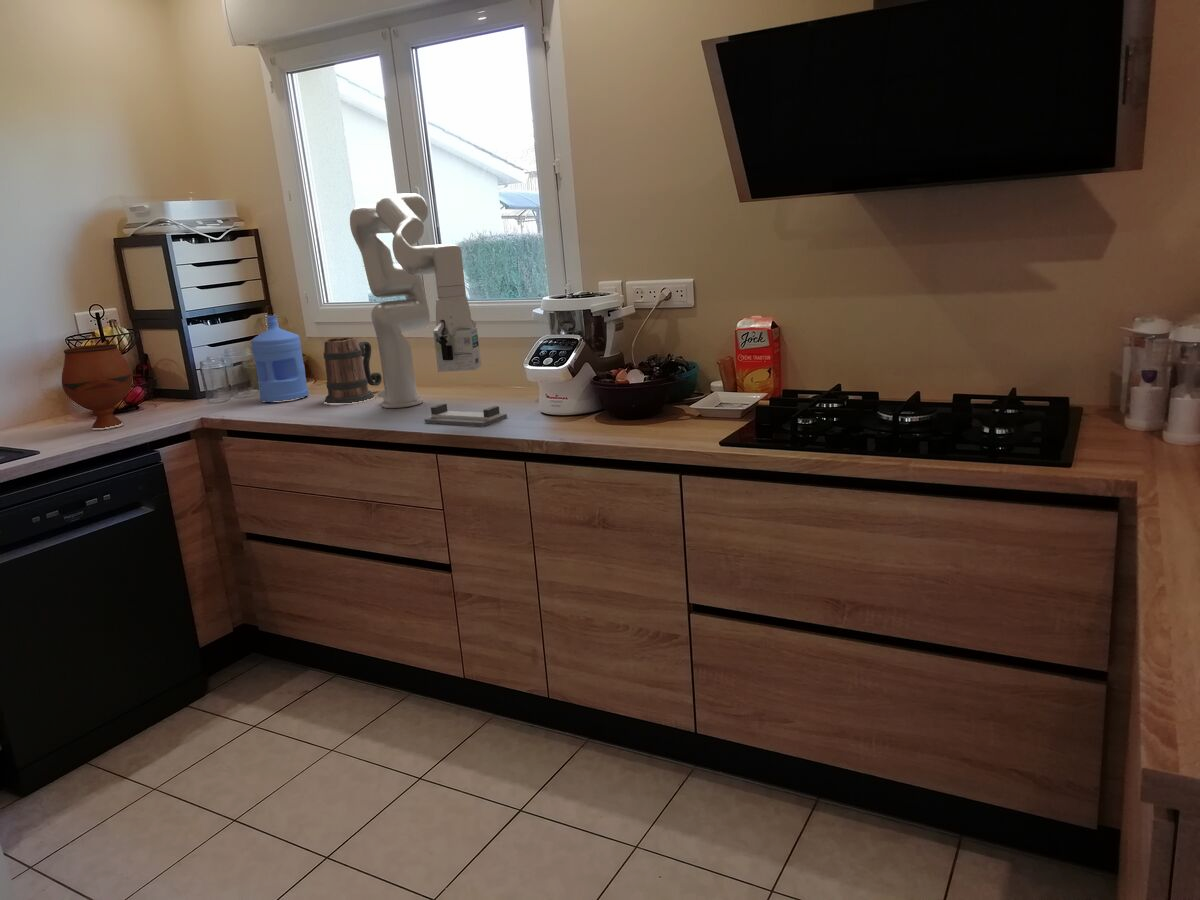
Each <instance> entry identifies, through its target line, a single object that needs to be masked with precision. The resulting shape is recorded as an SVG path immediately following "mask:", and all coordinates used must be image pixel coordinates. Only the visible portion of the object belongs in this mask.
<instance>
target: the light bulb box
mask: <svg viewBox="0 0 1200 900" xmlns="http://www.w3.org/2000/svg"><path fill="white" fill-rule="evenodd" d="M442 333H443V331H442V332H441V334H442ZM444 334H449V333H448V332H444ZM478 334H479V332H478V327H476V328H469V329H464V330H459V331H456V335H455V336H452V339H451V343H450V345H452V351H453V360H443V358H442V349H441V346H440V345H439V342H438V341H437V339H436V336H435V335H434V334H433V339H434V349H435V356H436V357H435V358H436V364H437V372H438V373H441V372H443V373H444V372H459V371H462V372H463V371H476V370H478V369H479V368H481V367H482V360H481V359H482V358H481V352H480V343H479V335H478ZM444 338H445V339H446V340H447V337H444Z"/></svg>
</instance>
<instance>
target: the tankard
mask: <svg viewBox="0 0 1200 900" xmlns="http://www.w3.org/2000/svg"><path fill="white" fill-rule="evenodd" d="M371 357H372V345H371V344H370V342H369V341H360V342H359V341H358V338H357V337H342V338H340V337H339V338H336V337H335V338H329V339H326V340H324V349H323V359H324V364H325V374H326V383H325V385H326V388H327V395H326V396H325V399H324V401H325V402H327V403H352V402H359V401H364V400H367V399H371V398H373V397H374V396H375V395H374V394H373V392H372V391H371V390H369V385H370V386H371V387H372V386H373V387H374V386H376V387H377V386H379V385H380V384H381V383H382V381H383V379H382V378H383V376H382V375H381V373H380V372H372V373H371V369H370V367H371V366H370V360H371Z"/></svg>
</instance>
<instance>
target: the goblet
mask: <svg viewBox="0 0 1200 900" xmlns="http://www.w3.org/2000/svg"><path fill="white" fill-rule="evenodd" d="M63 353H64V360H63V367H62V372H61V387H62V390H63V391H64V393H65V395H66V396H67V397H68V398H69V399H71V400H72V401H73V402H74V403H76V404H77V405H78V406H80V407H83V408H85V409H87V410H89V411H92V415H94V416H95V417H96V419H95V421H94V423H93V424H92V427H91V429H92V428H105V427H110V426H115V425H119V424H121V423H122V422H123V421H122V420H120V418H118V417H116V416H115V414H114V412H115V407H116V406H117V405H119V404H120V403H121V402H122V401H123V400H125V398H126V397H127V396H128V394H129V392H130V391H131V389H132V387H133V382H134V381H133V380H134V375H133V372H132V368H131V367H130V364H129V363H128V362H127V360H126V358H125V357H124V356H123V354H122V352H121V351H120V350H119V347H118V344H115V343H114V344H113V343H112V344H111V343H110V344H108V343H105V344H92V345H91V344H89V345H82V346H74V347H70V348H67V349H64V351H63Z"/></svg>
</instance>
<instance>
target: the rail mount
mask: <svg viewBox="0 0 1200 900" xmlns="http://www.w3.org/2000/svg"><path fill="white" fill-rule="evenodd" d="M430 412H431V415H430V416H431V417H428V418H425V419H424V423H425V422H427V423H426V424H430V423H441V424H440V425H447V424H454V425H453V426H464V425H474V426H473V427H481V426H484V427H486V426H488V425H487V424H489V425H491V424H490V423H492V424H494V423H496V421H497V422H499V421H502V420H504V419H507V418H508V414H507V413H500V406H499V405H493V406H490V407H487V408H484V409H483V412H478V411H460V410H459V411H458V410H457V411H456V410H455V411H454V410H448V406H447V403H441V404H437V405H435V406H431V407H430ZM506 417H507V418H506ZM503 418H504V419H503ZM501 419H502V420H501ZM498 420H499V421H498ZM428 422H429V423H428ZM493 422H494V423H493ZM455 424H456V425H455ZM485 425H486V426H485Z"/></svg>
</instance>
